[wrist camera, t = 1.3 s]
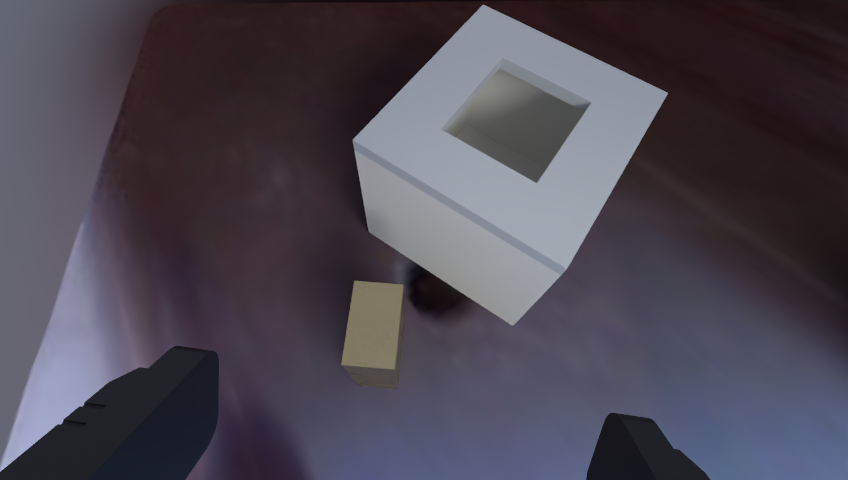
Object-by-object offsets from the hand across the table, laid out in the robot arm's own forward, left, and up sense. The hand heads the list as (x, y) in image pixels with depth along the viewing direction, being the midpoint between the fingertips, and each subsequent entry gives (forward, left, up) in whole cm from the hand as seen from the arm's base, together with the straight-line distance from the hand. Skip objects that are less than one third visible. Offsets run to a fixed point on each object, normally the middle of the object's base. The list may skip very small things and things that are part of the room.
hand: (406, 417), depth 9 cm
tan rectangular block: (+5, -4, -25) cm, 26 cm away
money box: (+5, -20, -25) cm, 32 cm away
